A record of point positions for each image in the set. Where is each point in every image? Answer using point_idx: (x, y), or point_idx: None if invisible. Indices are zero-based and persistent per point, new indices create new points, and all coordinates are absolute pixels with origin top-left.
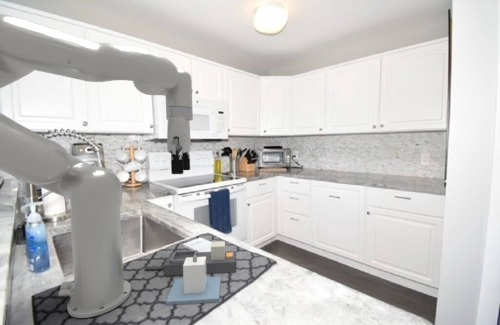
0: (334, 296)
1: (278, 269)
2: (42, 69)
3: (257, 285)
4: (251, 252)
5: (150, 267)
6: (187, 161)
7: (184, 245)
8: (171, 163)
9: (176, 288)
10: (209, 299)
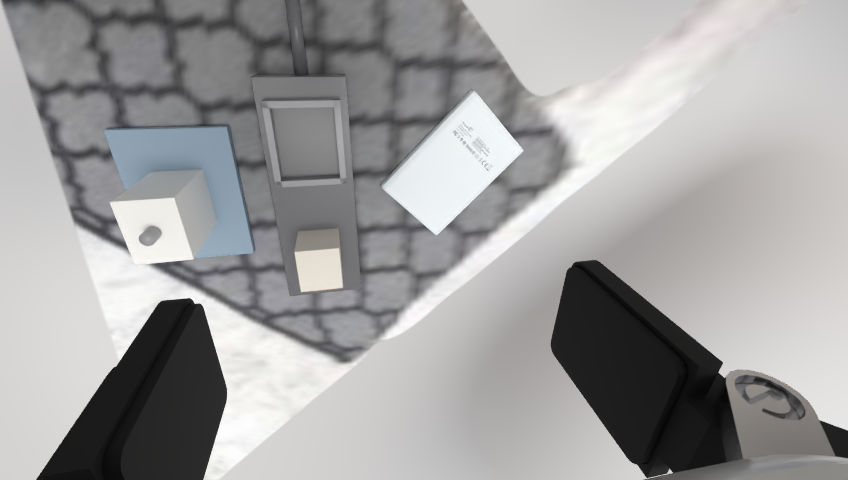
0: (215, 444)
1: (310, 366)
2: None
3: (236, 329)
4: (401, 309)
5: (289, 7)
6: (611, 413)
7: (465, 99)
8: (90, 415)
9: (173, 143)
10: None
